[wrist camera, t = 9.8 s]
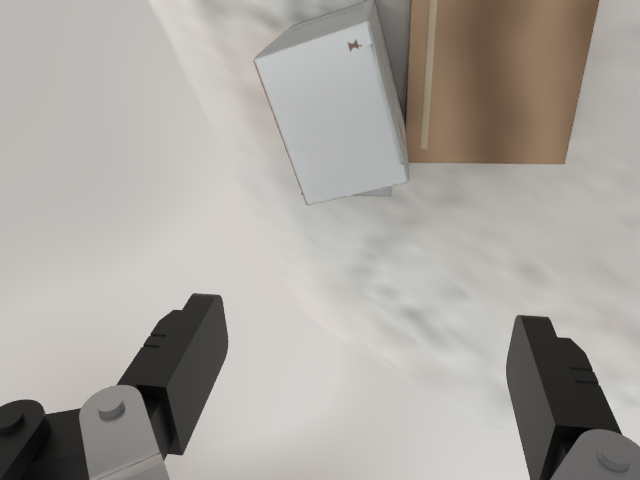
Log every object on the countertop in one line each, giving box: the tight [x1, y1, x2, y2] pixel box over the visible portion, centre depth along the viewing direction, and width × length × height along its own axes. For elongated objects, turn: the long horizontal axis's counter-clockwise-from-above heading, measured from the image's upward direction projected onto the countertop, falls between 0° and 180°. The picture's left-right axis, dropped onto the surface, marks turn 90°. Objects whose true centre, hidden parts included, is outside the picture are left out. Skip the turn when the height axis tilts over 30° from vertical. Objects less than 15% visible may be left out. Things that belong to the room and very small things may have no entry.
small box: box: [253, 0, 409, 205], centre depth 28 cm, size 8×6×10 cm
